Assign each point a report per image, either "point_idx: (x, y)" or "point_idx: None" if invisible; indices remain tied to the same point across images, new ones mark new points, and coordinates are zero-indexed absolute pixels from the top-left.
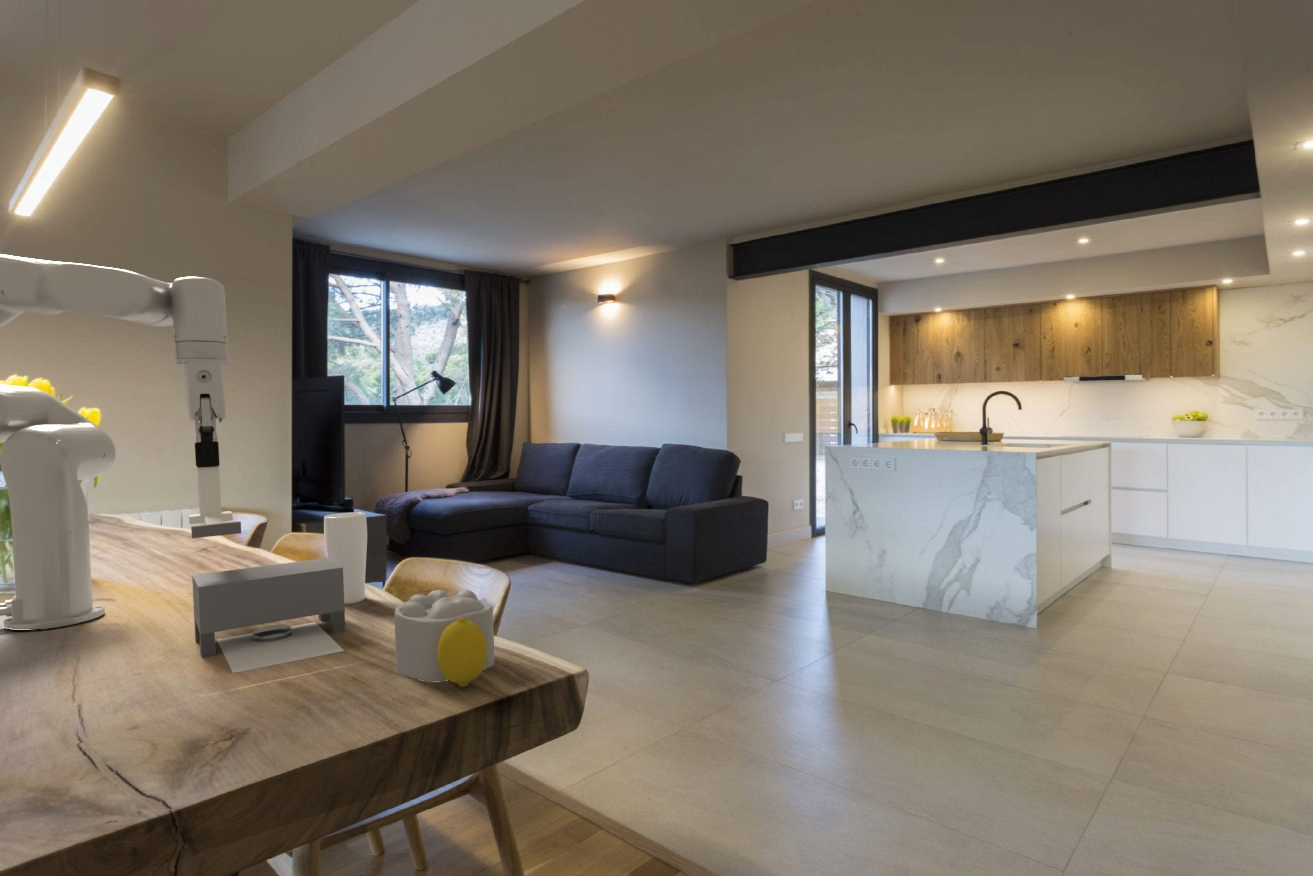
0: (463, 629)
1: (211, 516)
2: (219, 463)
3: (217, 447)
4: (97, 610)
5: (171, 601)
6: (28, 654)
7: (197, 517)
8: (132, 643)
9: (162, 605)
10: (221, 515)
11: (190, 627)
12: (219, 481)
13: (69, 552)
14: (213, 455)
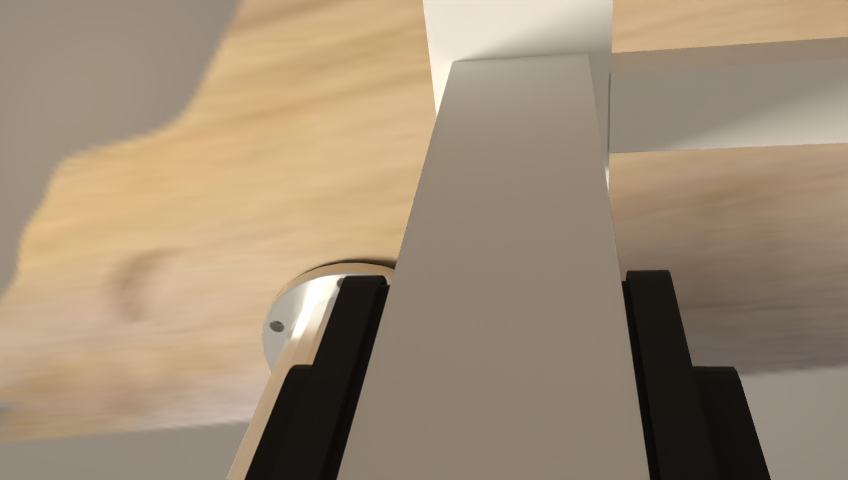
0: None
1: (722, 109)
2: (668, 280)
3: (710, 460)
4: (388, 283)
5: (252, 108)
6: (723, 354)
7: (608, 181)
8: (820, 166)
9: (305, 129)
10: (608, 49)
11: (736, 23)
12: (605, 173)
13: None
14: (749, 410)
